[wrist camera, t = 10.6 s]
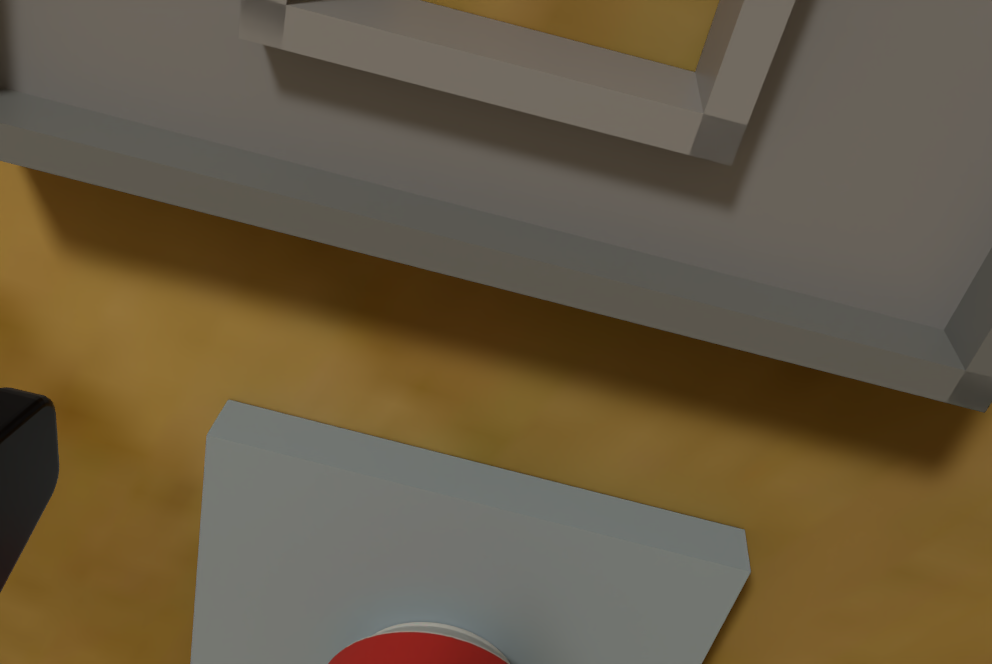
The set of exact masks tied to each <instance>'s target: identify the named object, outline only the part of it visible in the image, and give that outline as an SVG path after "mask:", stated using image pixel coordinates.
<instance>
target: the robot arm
mask: <svg viewBox="0 0 992 664" xmlns="http://www.w3.org/2000/svg"><path fill="white" fill-rule="evenodd" d="M58 474H59V455H58V440H57V425H56V412H55V407H54V404H53V402H52V401H51V400H50V399H49V398H47V397H46V396H43V395H40V394H35V393H31V392H27V391H23V390H18V389H14V388H0V592H1V590H2V589H3V587H4V585H5V583H6V581H7V579H8V577H9V575H10V573H11V572H12V570H13V568H14V566H15V564H16V562H17V560H18V558H19V556H20V554H21V553H22V551H23V549H24V547H25V545H26V543H27V541H28V539H29V537H30V536H31V534H32V532H33V530H34V528H35V526H36V524H37V522H38V520H39V519H40V517H41V515H42V513H43V511H44V509H45V507H46V505H47V503H48V502H49V500H50V498H51V496H52V494H53V492H54V489H55V486H56V483H57V479H58Z"/></svg>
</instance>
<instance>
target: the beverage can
mask: <svg viewBox="0 0 992 664" xmlns="http://www.w3.org/2000/svg"><path fill="white" fill-rule="evenodd" d="M328 664H510V662H509V661H508V660H507V658H506V657H505V656H504V655H503V654H502V653H501V652H500V651H499V650H498V649H497V648H496V647H495V646H493V645H492V644H491V643H489V642H488V641H486V640H485V639H483V638H481V637H480V636H478V635H476V634H474V633H472V632H469V631H467V630H464V629H461V628H458V627H455V626H451V625H447V624H441V623H433V622H410V623H403V624H397V625H394V626H391V627H388V628H385V629H383V630H381V631H379V632H377V633H375V634H374V635H372V636H369V637H366V638H363V639H360V640H358V641H356V642H354V643H352V644H350V645H348V646H347V647H345V648H344V649H343V650H341V651H340V652H339V653H338V654H337V655H335V656H334V657H333V658H332V660H331V661H330V662H329V663H328Z"/></svg>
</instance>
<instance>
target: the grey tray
mask: <svg viewBox="0 0 992 664" xmlns="http://www.w3.org/2000/svg"><path fill="white" fill-rule="evenodd" d="M0 161H4V162H8V163H11V164H15V165H19V166H23V167H27V168H31V169H35V170H39V171H43V172H47V173H51V174H54V175H58V176H62V177H66V178H70V179H74V180H78V181H82V182H86V183H90V184H94V185H97V186H101V187H105V188H109V189H113V190H117V191H121V192H125V193H129V194H133V195H137V196H140V197H144V198H148V199H152V200H156V201H160V202H164V203H168V204H172V205H176V206H179V207H183V208H187V209H191V210H195V211H199V212H203V213H207V214H211V215H215V216H219V217H222V218H226V219H230V220H234V221H238V222H242V223H246V224H250V225H254V226H258V227H262V228H265V229H269V230H273V231H277V232H281V233H285V234H289V235H293V236H297V237H301V238H305V239H308V240H312V241H316V242H320V243H324V244H328V245H332V246H336V247H340V248H344V249H347V250H351V251H355V252H359V253H363V254H367V255H371V256H375V257H379V258H383V259H387V260H390V261H394V262H398V263H402V264H406V265H410V266H414V267H418V268H422V269H426V270H430V271H433V272H437V273H441V274H445V275H449V276H453V277H457V278H461V279H465V280H469V281H473V282H476V283H480V284H484V285H488V286H492V287H496V288H500V289H504V290H508V291H512V292H515V293H519V294H523V295H527V296H531V297H535V298H539V299H543V300H547V301H551V302H555V303H558V304H562V305H566V306H570V307H574V308H578V309H582V310H586V311H590V312H594V313H598V314H601V315H605V316H609V317H613V318H617V319H621V320H625V321H629V322H633V323H637V324H641V325H644V326H648V327H652V328H656V329H660V330H664V331H668V332H672V333H676V334H680V335H683V336H687V337H691V338H695V339H699V340H703V341H707V342H711V343H715V344H719V345H723V346H726V347H730V348H734V349H738V350H742V351H746V352H750V353H754V354H758V355H762V356H766V357H769V358H773V359H777V360H781V361H785V362H789V363H793V364H797V365H801V366H805V367H809V368H812V369H816V370H820V371H824V372H828V373H832V374H836V375H840V376H844V377H848V378H851V379H855V380H859V381H863V382H867V383H871V384H875V385H879V386H883V387H887V388H891V389H894V390H898V391H902V392H906V393H910V394H914V395H918V396H922V397H926V398H930V399H934V400H937V401H941V402H945V403H949V404H953V405H957V406H961V407H965V408H969V409H973V410H977V411H980V412H984V413H985V412H986V410H987V408H988V407H989V405H990V404H991V402H992V0H720V2H719V5H718V7H717V10H716V13H715V16H714V19H713V22H712V25H711V28H710V31H709V34H708V37H707V39H706V42H705V45H704V48H703V51H702V54H701V57H700V60H699V63H698V66H697V68H696V71H695V72H692V71H688V70H684V69H681V68H677V67H673V66H669V65H665V64H662V63H658V62H654V61H650V60H646V59H642V58H639V57H635V56H631V55H627V54H623V53H619V52H616V51H612V50H608V49H604V48H600V47H596V46H593V45H589V44H585V43H581V42H577V41H574V40H570V39H566V38H562V37H558V36H554V35H551V34H547V33H543V32H539V31H535V30H531V29H528V28H524V27H520V26H516V25H512V24H508V23H505V22H501V21H497V20H493V19H489V18H486V17H482V16H478V15H474V14H470V13H466V12H463V11H459V10H455V9H451V8H447V7H443V6H440V5H436V4H432V3H428V2H424V1H421V0H0Z"/></svg>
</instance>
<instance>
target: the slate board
mask: <svg viewBox="0 0 992 664" xmlns="http://www.w3.org/2000/svg"><path fill="white" fill-rule="evenodd" d="M750 572H751V569H750V563H749V556H748V549H747V542H746V536H745V530H743V529H739V528H735V527H731V526H727V525H723V524H720V523H716V522H712V521H708V520H704V519H700V518H696V517H692V516H688V515H684V514H680V513H676V512H672V511H668V510H664V509H660V508H656V507H652V506H648V505H644V504H640V503H636V502H632V501H628V500H624V499H620V498H616V497H612V496H609V495H605V494H601V493H597V492H593V491H589V490H585V489H581V488H577V487H573V486H569V485H565V484H561V483H557V482H553V481H549V480H545V479H541V478H537V477H533V476H529V475H525V474H521V473H517V472H513V471H509V470H505V469H502V468H498V467H494V466H490V465H486V464H482V463H478V462H474V461H470V460H466V459H462V458H458V457H454V456H450V455H446V454H442V453H438V452H434V451H430V450H426V449H422V448H418V447H414V446H410V445H406V444H402V443H398V442H394V441H391V440H387V439H383V438H379V437H375V436H371V435H367V434H363V433H359V432H355V431H351V430H347V429H343V428H339V427H335V426H331V425H327V424H323V423H319V422H315V421H311V420H307V419H303V418H299V417H295V416H291V415H287V414H283V413H280V412H276V411H272V410H268V409H264V408H260V407H256V406H252V405H248V404H244V403H240V402H236V401H232V400H228V401H227V403H226V404H225V406H224V407H223V409H222V411H221V412H220V414H219V416H218V417H217V419H216V421H215V422H214V424H213V426H212V427H211V429H210V430H209V432H208V434H207V439H206V453H205V467H204V481H203V495H202V509H201V523H200V537H199V551H198V565H197V579H196V594H195V608H194V622H193V636H192V650H191V664H328V663H329V662H330V661H331V660H332V658H333V657H334V656H335V655H337V654H338V653H339V652H340V651H341V650H343V649H344V648H345V647H347V646H348V645H350V644H352V643H354V642H356V641H358V640H360V639H363V638H366V637H369V636H372V635H374V634H375V633H377V632H379V631H381V630H383V629H385V628H388V627H391V626H394V625H397V624H403V623H410V622H433V623H441V624H447V625H451V626H455V627H458V628H461V629H464V630H467V631H469V632H472V633H474V634H476V635H478V636H480V637H481V638H483V639H485V640H486V641H488V642H489V643H491V644H492V645H493V646H495V647H496V648H497V649H498V650H499V651H500V652H501V653H502V654H503V655H504V656H505V657H506V658H507V660H508V661H509V662H510V664H702V662H703V660H704V658H705V657H706V655H707V653H708V651H709V649H710V647H711V645H712V643H713V642H714V640H715V638H716V636H717V634H718V632H719V630H720V629H721V627H722V625H723V623H724V621H725V619H726V617H727V615H728V614H729V612H730V610H731V608H732V606H733V604H734V602H735V600H736V599H737V597H738V595H739V593H740V591H741V589H742V587H743V586H744V584H745V582H746V580H747V578H748V576H749V574H750Z"/></svg>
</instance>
